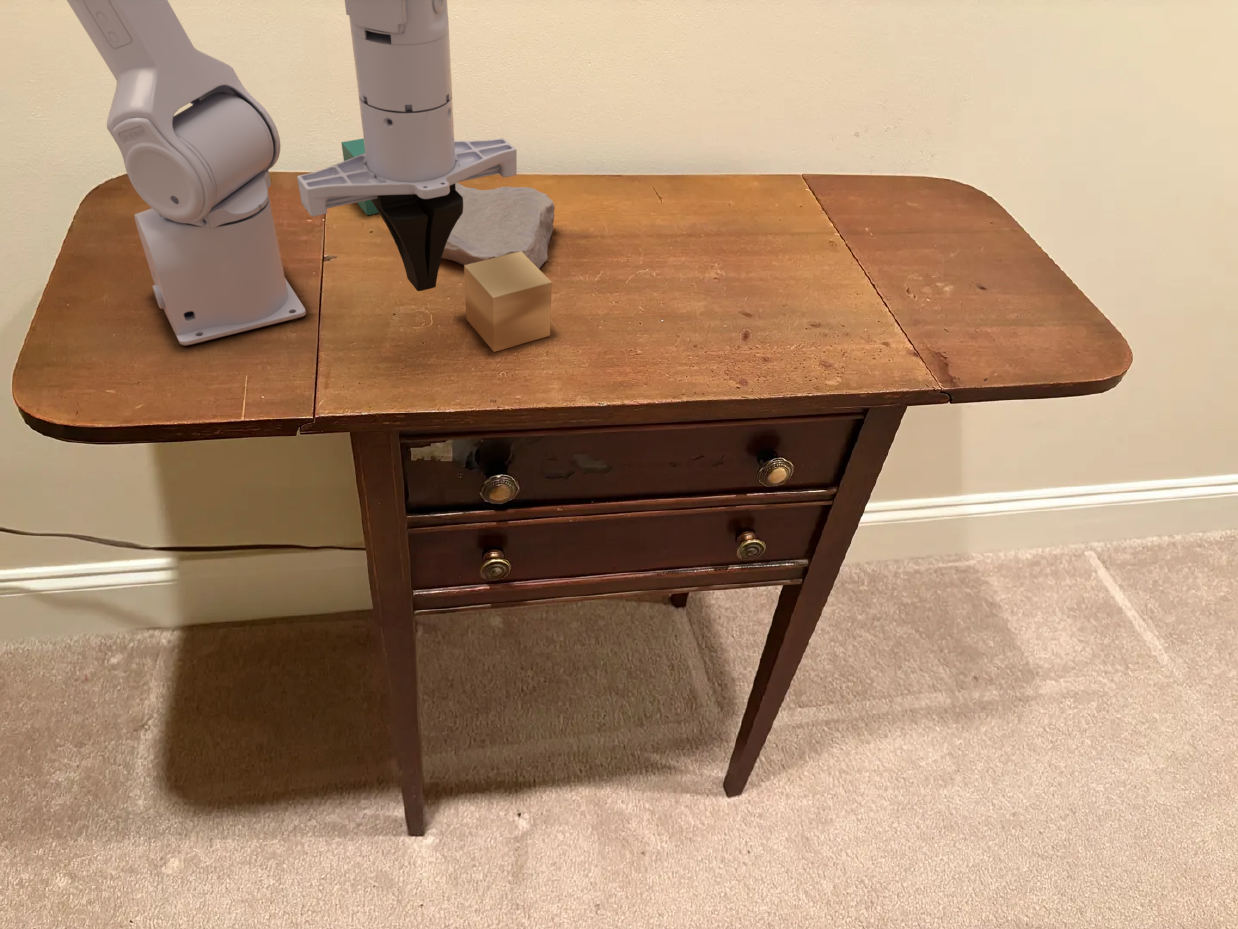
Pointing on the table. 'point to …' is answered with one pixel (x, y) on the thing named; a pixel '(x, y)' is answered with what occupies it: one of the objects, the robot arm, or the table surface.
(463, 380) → the table surface
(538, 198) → the stone block
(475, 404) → the table surface
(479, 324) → the maple block
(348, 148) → the teal block
